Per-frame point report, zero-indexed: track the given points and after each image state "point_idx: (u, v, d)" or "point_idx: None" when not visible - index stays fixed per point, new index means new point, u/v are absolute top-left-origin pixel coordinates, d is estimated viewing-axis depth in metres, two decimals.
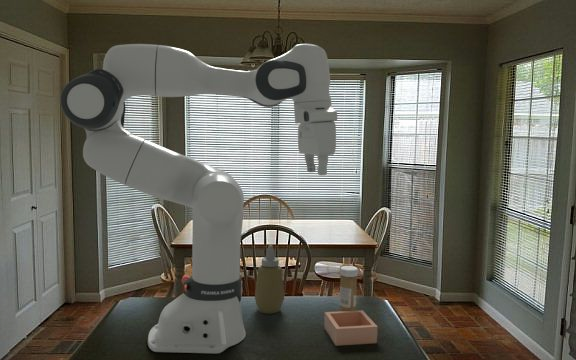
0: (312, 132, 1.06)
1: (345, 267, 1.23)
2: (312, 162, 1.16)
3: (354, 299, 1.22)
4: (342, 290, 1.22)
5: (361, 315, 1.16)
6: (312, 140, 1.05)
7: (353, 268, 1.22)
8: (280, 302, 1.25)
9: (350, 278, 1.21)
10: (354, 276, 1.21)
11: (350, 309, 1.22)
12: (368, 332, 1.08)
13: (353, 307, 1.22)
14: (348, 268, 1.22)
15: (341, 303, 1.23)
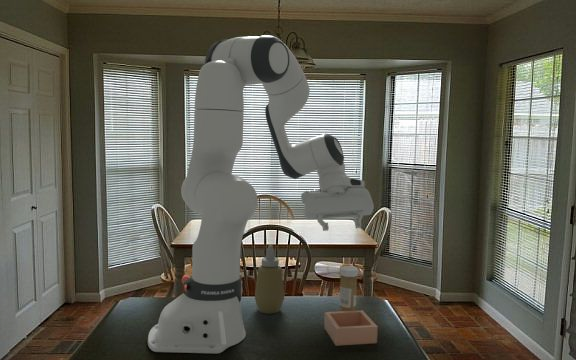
0: (350, 196, 1.37)
1: (345, 267, 1.23)
2: None
3: (354, 299, 1.22)
4: (342, 290, 1.22)
5: (361, 315, 1.16)
6: (354, 200, 1.36)
7: (353, 268, 1.22)
8: (280, 302, 1.25)
9: (350, 278, 1.21)
10: (354, 276, 1.21)
11: (350, 309, 1.22)
12: (368, 332, 1.08)
13: (353, 307, 1.22)
14: (348, 268, 1.22)
15: (341, 303, 1.23)
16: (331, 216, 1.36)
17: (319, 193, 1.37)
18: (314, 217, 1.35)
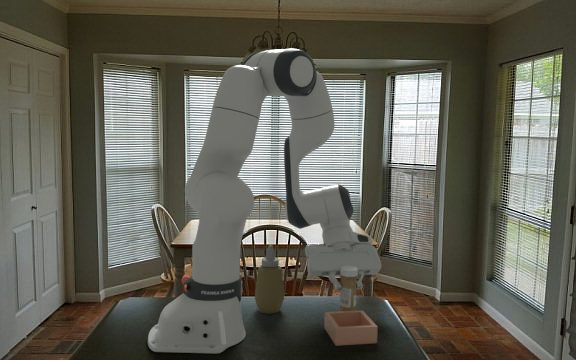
0: (357, 253, 1.28)
1: (345, 267, 1.23)
2: None
3: (354, 299, 1.22)
4: (342, 290, 1.22)
5: (361, 315, 1.16)
6: (361, 258, 1.27)
7: (353, 268, 1.22)
8: (280, 302, 1.25)
9: (350, 278, 1.21)
10: (354, 276, 1.21)
11: (350, 309, 1.22)
12: (368, 332, 1.08)
13: (353, 307, 1.22)
14: (348, 268, 1.22)
15: (341, 303, 1.23)
16: (336, 274, 1.26)
17: (324, 248, 1.27)
18: (319, 274, 1.25)
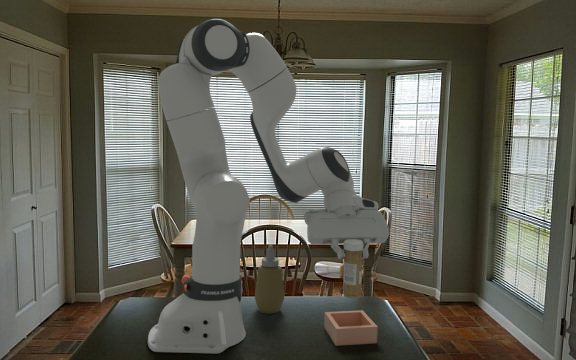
0: (362, 219, 1.16)
1: (349, 241, 1.11)
2: None
3: (360, 276, 1.10)
4: (346, 266, 1.10)
5: (361, 315, 1.16)
6: (367, 225, 1.15)
7: (358, 241, 1.10)
8: (280, 302, 1.25)
9: (356, 252, 1.09)
10: (359, 250, 1.09)
11: (355, 287, 1.10)
12: (368, 332, 1.08)
13: (359, 284, 1.10)
14: (352, 241, 1.10)
15: (345, 280, 1.11)
16: (339, 242, 1.14)
17: (326, 214, 1.15)
18: (320, 242, 1.12)
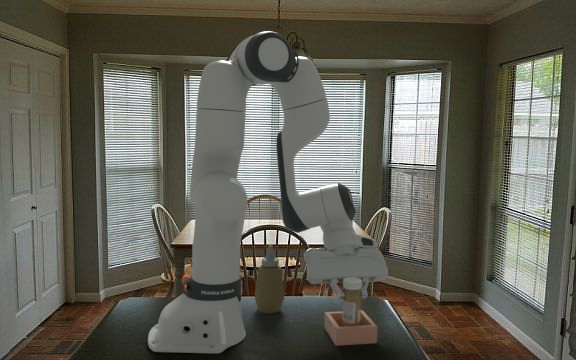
0: (361, 257, 1.17)
1: (348, 279, 1.12)
2: None
3: (358, 314, 1.11)
4: (345, 304, 1.11)
5: (361, 315, 1.16)
6: (366, 264, 1.16)
7: (357, 280, 1.11)
8: (280, 302, 1.25)
9: (354, 291, 1.10)
10: (358, 289, 1.10)
11: (354, 325, 1.11)
12: (368, 332, 1.08)
13: (357, 323, 1.11)
14: (351, 280, 1.11)
15: (344, 319, 1.12)
16: (338, 281, 1.15)
17: (325, 253, 1.16)
18: (319, 282, 1.13)
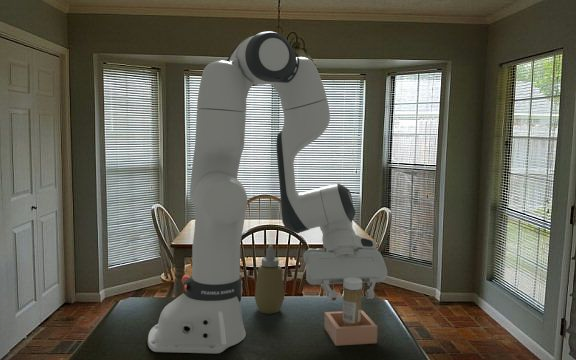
0: (360, 258, 1.17)
1: (348, 279, 1.12)
2: None
3: (359, 314, 1.11)
4: (345, 304, 1.11)
5: (361, 315, 1.16)
6: (365, 264, 1.16)
7: (357, 280, 1.11)
8: (280, 302, 1.25)
9: (355, 291, 1.10)
10: (359, 289, 1.10)
11: (354, 325, 1.11)
12: (368, 332, 1.08)
13: (358, 323, 1.11)
14: (352, 280, 1.11)
15: (344, 318, 1.12)
16: (338, 282, 1.15)
17: (325, 253, 1.16)
18: (318, 282, 1.13)
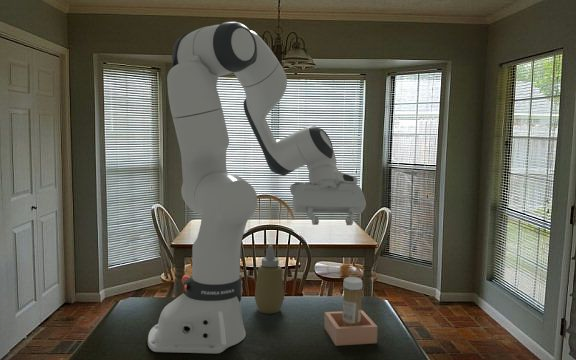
0: (342, 191, 1.30)
1: (349, 279, 1.12)
2: None
3: (359, 314, 1.11)
4: (346, 304, 1.11)
5: (361, 315, 1.16)
6: (346, 196, 1.28)
7: (357, 280, 1.11)
8: (280, 302, 1.25)
9: (355, 291, 1.10)
10: (359, 289, 1.10)
11: (354, 325, 1.11)
12: (368, 332, 1.08)
13: (358, 323, 1.11)
14: (352, 280, 1.11)
15: (344, 318, 1.12)
16: (321, 211, 1.27)
17: (310, 185, 1.29)
18: (303, 210, 1.26)
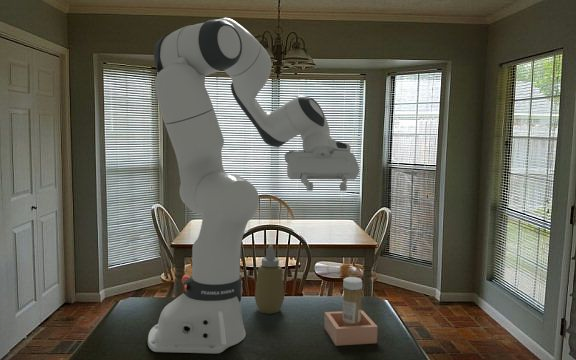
0: (335, 158, 1.32)
1: (348, 279, 1.12)
2: None
3: (359, 314, 1.11)
4: (345, 304, 1.11)
5: (361, 315, 1.16)
6: (340, 163, 1.31)
7: (357, 280, 1.11)
8: (280, 302, 1.25)
9: (355, 291, 1.10)
10: (359, 289, 1.10)
11: (354, 325, 1.11)
12: (368, 332, 1.08)
13: (358, 323, 1.11)
14: (352, 280, 1.11)
15: (344, 318, 1.12)
16: (315, 178, 1.30)
17: (304, 153, 1.31)
18: (298, 177, 1.28)
